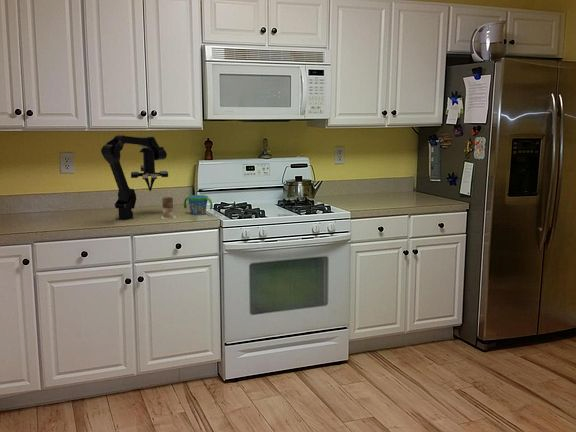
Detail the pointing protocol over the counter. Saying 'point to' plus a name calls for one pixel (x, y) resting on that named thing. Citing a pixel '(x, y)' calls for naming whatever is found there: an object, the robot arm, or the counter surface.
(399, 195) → the counter surface
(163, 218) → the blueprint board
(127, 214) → the robot arm
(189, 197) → the snack cup
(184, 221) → the counter surface
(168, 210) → the birch block
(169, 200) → the walnut block
